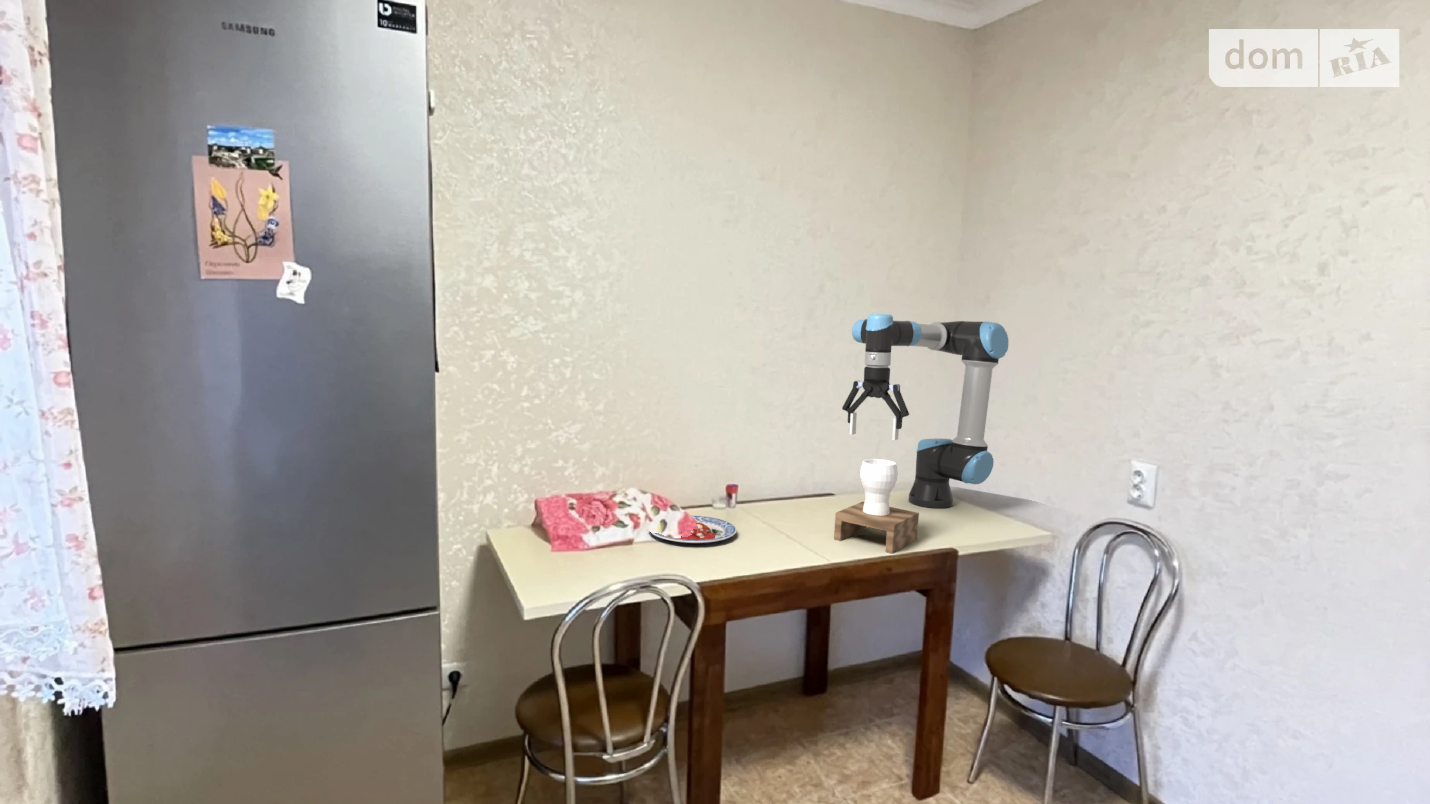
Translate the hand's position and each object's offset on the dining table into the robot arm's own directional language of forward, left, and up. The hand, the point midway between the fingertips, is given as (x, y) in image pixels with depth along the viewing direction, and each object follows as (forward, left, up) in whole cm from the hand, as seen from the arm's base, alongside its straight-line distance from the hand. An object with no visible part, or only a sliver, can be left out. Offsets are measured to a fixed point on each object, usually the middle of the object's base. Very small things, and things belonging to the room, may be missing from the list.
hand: (873, 436), depth 218 cm
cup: (+6, +5, -21) cm, 23 cm away
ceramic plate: (+40, -36, -30) cm, 62 cm away
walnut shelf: (+6, +6, -29) cm, 30 cm away
